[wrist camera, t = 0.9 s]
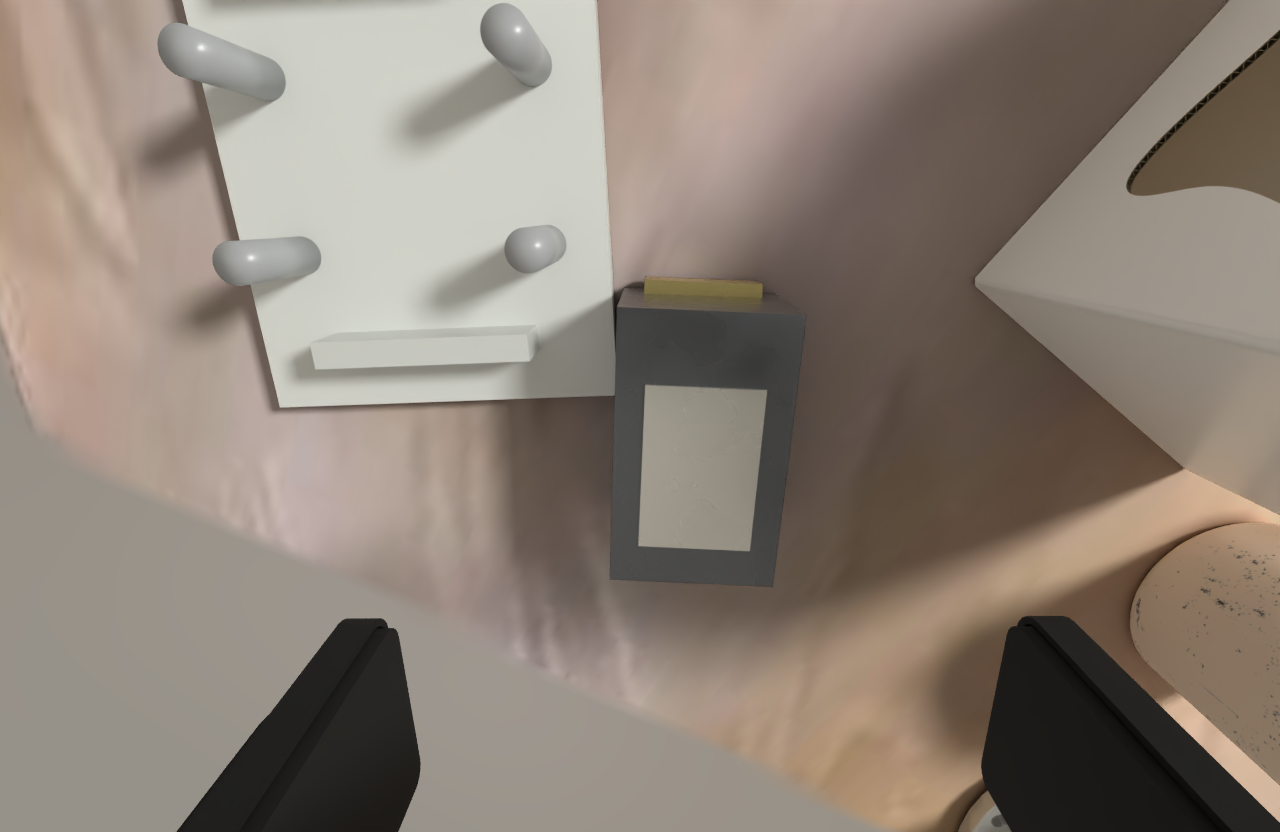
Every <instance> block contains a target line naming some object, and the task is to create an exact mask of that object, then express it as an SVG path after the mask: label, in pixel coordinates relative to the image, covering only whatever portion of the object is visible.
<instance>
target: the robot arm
mask: <svg viewBox="0 0 1280 832" xmlns="http://www.w3.org/2000/svg"><path fill="white" fill-rule="evenodd" d="M981 768H982V775H983V780H984V782H985V785H986V788H987V791H986V792H985V793H984V794H982V796H981V797H980V798H979V799H978V800H977V801H976V803H975V804H974V805H973V806H972V807H971V808H970V809H969V811H968V813H967V815H966V816H965V818H964V820H963V822H962V823H961V825H960V827H959V830H958V832H1280V823H1279V822H1278V821H1277V820H1276V819H1275V818H1274V817H1273V816H1272V815H1271V814H1270V813H1269V812H1268V811H1267V810H1266V809H1265V808H1264V807H1263V806H1262V805H1261V804H1260V803H1259V802H1258V801H1257V800H1256V799H1255V798H1254V797H1253V796H1252V795H1251V794H1250V793H1249V792H1248V791H1247V790H1246V789H1245V788H1244V787H1243V786H1242V785H1241V784H1240V783H1238V782H1237V781H1236V780H1235V779H1234V778H1233V777H1232V776H1231V775H1230V774H1229V773H1228V772H1227V771H1226V770H1225V769H1224V768H1223V767H1222V766H1221V765H1220V764H1219V763H1218V762H1217V761H1216V760H1215V759H1214V758H1213V757H1212V756H1211V755H1210V754H1209V753H1208V752H1207V751H1206V750H1205V749H1204V748H1203V747H1202V746H1201V745H1200V744H1199V743H1198V742H1197V741H1196V740H1195V739H1194V738H1193V737H1192V736H1190V735H1189V734H1188V733H1187V732H1186V731H1185V730H1184V729H1183V728H1182V727H1181V726H1180V725H1179V724H1178V723H1177V722H1176V721H1175V720H1174V719H1173V718H1172V717H1171V716H1170V715H1169V714H1168V713H1167V712H1166V711H1165V710H1164V709H1163V708H1162V707H1161V706H1160V705H1159V704H1158V703H1157V702H1156V701H1155V700H1154V699H1153V698H1152V697H1151V696H1150V695H1149V694H1148V693H1147V692H1146V691H1145V690H1143V689H1142V688H1141V687H1140V686H1139V685H1138V684H1137V683H1136V682H1135V681H1134V680H1133V679H1132V678H1131V677H1130V676H1129V675H1128V674H1127V673H1126V672H1125V671H1124V670H1123V669H1122V668H1121V667H1120V666H1119V665H1118V664H1117V663H1116V662H1115V661H1114V660H1113V659H1112V658H1111V657H1110V656H1109V655H1108V654H1107V653H1106V652H1105V651H1104V650H1103V649H1102V648H1101V647H1100V646H1099V645H1098V644H1096V643H1095V642H1094V641H1093V640H1092V639H1091V638H1090V637H1089V636H1088V635H1087V634H1086V633H1085V632H1084V631H1083V630H1082V629H1081V628H1080V627H1079V626H1078V625H1077V624H1076V623H1075V622H1074V621H1072V620H1071V619H1070V618H1068V617H1064V616H1026V617H1023V618H1021V620H1020V621H1019V622H1018V625H1017V626H1014V627H1011V628H1010V629H1009V630H1008V633H1007V637H1006V642H1005V647H1004V652H1003V657H1002V662H1001V667H1000V672H999V677H998V682H997V687H996V692H995V697H994V702H993V707H992V712H991V717H990V722H989V727H988V732H987V737H986V742H985V747H984V752H983V757H982V764H981ZM419 775H420V756H419V750H418V744H417V738H416V733H415V727H414V721H413V715H412V710H411V704H410V698H409V693H408V687H407V681H406V676H405V670H404V664H403V658H402V652H401V647H400V641H399V636H398V633H397V631H396V629H394V628H388V626H387V623H386V622H385V620H383V619H381V618H379V619H344V620H342V621H341V622H340V623H339V624H338V625H337V627H336V628H335V629H334V631H333V632H332V633H331V635H330V636H329V637H328V639H327V640H326V641H325V642H324V644H323V645H322V646H321V648H320V649H319V650H318V652H317V653H316V654H315V655H314V657H313V658H312V659H311V661H310V662H309V663H308V665H307V666H306V667H305V669H304V670H303V671H302V672H301V674H300V675H299V676H298V678H297V679H296V680H295V682H294V683H293V684H292V685H291V687H290V688H289V689H288V691H287V692H286V693H285V695H284V696H283V697H282V699H281V700H280V701H279V703H278V704H277V705H276V707H275V708H274V709H273V710H272V712H271V713H270V714H269V715H268V716H267V717H266V718H265V719H264V720H263V721H262V722H261V723H260V724H259V725H258V727H257V728H256V729H255V731H254V732H253V733H252V735H251V736H250V737H249V738H248V740H247V741H246V742H245V744H244V745H243V746H242V748H241V749H240V750H239V752H238V753H237V754H236V755H235V757H234V758H233V759H232V761H231V762H230V763H229V764H228V766H227V767H226V768H225V770H224V771H223V772H222V774H221V775H220V776H219V777H218V779H217V780H216V781H215V783H214V784H213V785H212V787H211V788H210V789H209V791H208V792H207V793H206V794H205V795H204V797H203V798H202V799H201V801H200V802H199V803H198V805H197V806H196V807H195V808H194V810H193V811H192V812H191V814H190V815H189V816H188V818H187V819H186V820H185V821H184V823H183V824H182V825H181V827H180V828H179V829H178V830H177V832H398V831H399V828H400V826H401V824H402V821H403V819H404V816H405V814H406V812H407V809H408V807H409V804H410V802H411V800H412V797H413V794H414V792H415V790H416V787H417V784H418V780H419Z"/></svg>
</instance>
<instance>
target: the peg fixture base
mask: <svg viewBox="0 0 1280 832" xmlns="http://www.w3.org/2000/svg"><path fill="white" fill-rule="evenodd" d="M182 2H183V6H184V10H185V14H186V18H187V23H188V25H186V24H183V23H171V24H168V25H167V26H165V27H164V28H163V29H162V31H161V32H160V34H159V37H158V51H159V55H160V57H161V59H162V61H163V63H164V64H165V66H166V67H167V68H168V69H169V70H170V71H171V72H173V73H174V74H176V75H178V76H181V77H184V78H187V79H191V80H194V81H198V82H201V83H202V85H203V89H204V93H205V98H206V102H207V106H208V110H209V114H210V118H211V123H212V127H213V131H214V135H215V139H216V143H217V148H218V152H219V156H220V160H221V164H222V168H223V173H224V177H225V181H226V185H227V189H228V193H229V197H230V202H231V206H232V210H233V214H234V218H235V222H236V227H237V231H238V235H239V239H240V240H238V241H226V242H223V243H221V244H219V245H218V246H217V247H216V248H215V250H214V253H213V266H214V268H215V271H216V272H217V274H218V275H219V276H220V278H221V279H223V280H224V281H225V282H227V283H229V284H231V285H234V286H244V285H251V289H252V293H253V297H254V302H255V306H256V310H257V314H258V318H259V322H260V327H261V331H262V335H263V339H264V343H265V347H266V352H267V356H268V360H269V364H270V368H271V372H272V377H273V381H274V385H275V389H276V393H277V397H278V402H279V406H280V408H281V407H308V406H336V405H364V404H392V403H419V402H447V401H475V400H503V399H530V398H558V397H586V396H614V395H615V364H616V324H615V307H614V289H613V272H612V254H611V237H610V219H609V202H608V185H607V167H606V150H605V132H604V115H603V97H602V80H601V63H600V45H599V28H598V10H597V0H182Z"/></svg>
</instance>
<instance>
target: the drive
mask: <svg viewBox="0 0 1280 832" xmlns="http://www.w3.org/2000/svg"><path fill="white" fill-rule="evenodd" d="M762 291H763V284H762V283H760V282H759V281H743V280H719V279H695V278H671V277H647V276H645V283H644V288H631V287H625V288H624V290H623V293H622V296H621V298H620V301H619V303H618V306H617V327H616V364H615V402H614V439H613V477H612V515H611V552H610V579H613V580H634V581H656V582H678V583H700V584H721V585H743V586H765V587H773V581H774V572H775V564H776V556H777V548H778V540H779V532H780V524H781V516H782V508H783V500H784V492H785V484H786V476H787V468H788V460H789V452H790V444H791V436H792V428H793V420H794V412H795V404H796V396H797V388H798V380H799V372H800V364H801V356H802V348H803V340H804V332H805V324H806V316H807V315H806V314H804V313H803V312H802V311H800V310H799V309H797V308H796V307H794V306H793V305H791V304H790V303H788V302H787V301H785V300H784V299H782V298H781V297H779V296H778V295H776V294H773V293H762Z"/></svg>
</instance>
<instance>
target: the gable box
mask: <svg viewBox="0 0 1280 832" xmlns="http://www.w3.org/2000/svg"><path fill="white" fill-rule="evenodd" d="M975 286H976V287H977V288H978V289H979V290H980V291H981V292H983V293H984V294H985V295H986V296H987V297H988V298H989V299H991V300H992V301H993V302H994V303H995V304H996V305H997V306H999V307H1000V308H1001V309H1002V310H1003V311H1004V312H1005V313H1007V314H1008V315H1009V316H1010V317H1011V318H1012V319H1014V320H1015V321H1016V322H1017V323H1018V324H1019V325H1020V326H1022V327H1023V328H1024V329H1025V330H1026V331H1027V332H1028V333H1030V334H1031V335H1032V336H1033V337H1034V338H1035V339H1037V340H1038V341H1039V342H1040V343H1041V344H1042V345H1043V346H1045V347H1046V348H1047V349H1048V350H1049V351H1050V352H1051V353H1053V354H1054V355H1055V356H1056V357H1057V358H1058V359H1059V360H1061V361H1062V362H1063V363H1064V364H1065V365H1066V366H1068V367H1069V368H1070V369H1071V370H1072V371H1073V372H1074V373H1076V374H1077V375H1078V376H1079V377H1080V378H1081V379H1082V380H1084V381H1085V382H1086V383H1087V384H1088V385H1089V386H1090V387H1092V388H1093V389H1094V390H1095V391H1096V392H1097V393H1099V394H1100V395H1101V396H1102V397H1103V398H1104V399H1105V400H1107V401H1108V402H1109V403H1110V404H1111V405H1112V406H1113V407H1115V408H1116V409H1117V410H1118V411H1119V412H1120V413H1122V414H1123V415H1124V416H1125V417H1126V418H1127V419H1128V420H1130V421H1131V422H1132V423H1133V424H1134V425H1135V426H1136V427H1138V428H1139V429H1140V430H1141V431H1142V432H1143V433H1144V434H1146V435H1147V436H1148V437H1149V438H1150V439H1151V440H1153V441H1154V442H1155V443H1156V444H1157V445H1158V446H1159V447H1161V448H1162V449H1163V450H1164V451H1165V452H1166V453H1167V454H1169V455H1170V456H1171V457H1172V458H1173V459H1174V460H1175V461H1177V462H1178V463H1179V464H1180V465H1181V466H1182V467H1184V468H1185V469H1187V470H1189V471H1190V472H1192V473H1194V474H1196V475H1198V476H1200V477H1202V478H1205V479H1207V480H1209V481H1211V482H1213V483H1215V484H1217V485H1219V486H1221V487H1223V488H1225V489H1227V490H1229V491H1231V492H1233V493H1235V494H1238V495H1240V496H1242V497H1244V498H1246V499H1248V500H1250V501H1252V502H1254V503H1256V504H1258V505H1260V506H1262V507H1264V508H1266V509H1268V510H1271V511H1273V512H1275V513H1277V514H1279V515H1280V0H1230V1H1229V2H1228V3H1227V4H1226V5H1225V6H1224V7H1223V8H1222V9H1221V10H1220V11H1219V12H1218V14H1217V15H1216V16H1215V17H1214V18H1213V19H1212V20H1211V21H1210V22H1209V23H1208V24H1207V26H1206V27H1205V28H1204V29H1203V30H1202V31H1201V32H1200V33H1199V34H1198V35H1197V36H1196V38H1195V39H1194V40H1193V41H1192V42H1191V43H1190V44H1189V45H1188V46H1187V47H1186V48H1185V50H1184V51H1183V52H1182V53H1181V54H1180V55H1179V56H1178V57H1177V58H1176V59H1175V60H1174V62H1173V63H1172V64H1171V65H1170V66H1169V67H1168V68H1167V69H1166V70H1165V71H1164V72H1163V73H1162V75H1161V76H1160V77H1159V78H1158V79H1157V80H1156V81H1155V82H1154V83H1153V84H1152V85H1151V87H1150V88H1149V89H1148V90H1147V91H1146V92H1145V93H1144V94H1143V95H1142V96H1141V97H1140V99H1139V100H1138V101H1137V102H1136V103H1135V104H1134V105H1133V106H1132V107H1131V108H1130V109H1129V111H1128V112H1127V113H1126V114H1125V115H1124V116H1123V117H1122V118H1121V119H1120V120H1119V121H1118V123H1117V124H1116V125H1115V126H1114V127H1113V128H1112V129H1111V130H1110V131H1109V132H1108V133H1107V134H1106V136H1105V137H1104V138H1103V139H1102V140H1101V141H1100V142H1099V143H1098V144H1097V145H1096V146H1095V148H1094V149H1093V150H1092V151H1091V152H1090V153H1089V154H1088V155H1087V156H1086V157H1085V158H1084V160H1083V161H1082V162H1081V163H1080V164H1079V165H1078V166H1077V167H1076V168H1075V169H1074V170H1073V172H1072V173H1071V174H1070V175H1069V176H1068V177H1067V178H1066V179H1065V180H1064V181H1063V182H1062V183H1061V185H1060V186H1059V187H1058V188H1057V189H1056V190H1055V191H1054V192H1053V193H1052V194H1051V195H1050V197H1049V198H1048V199H1047V200H1046V201H1045V202H1044V203H1043V204H1042V205H1041V206H1040V207H1039V209H1038V210H1037V211H1036V212H1035V213H1034V214H1033V215H1032V216H1031V217H1030V218H1029V219H1028V221H1027V222H1026V223H1025V224H1024V225H1023V226H1022V227H1021V228H1020V229H1019V230H1018V231H1017V233H1016V234H1015V235H1014V236H1013V237H1012V238H1011V239H1010V240H1009V241H1008V242H1007V243H1006V244H1005V246H1004V247H1003V248H1002V249H1001V250H1000V251H999V252H998V253H997V254H996V255H995V256H994V258H993V259H992V260H991V261H990V262H989V263H988V264H987V265H986V266H985V267H984V268H983V270H982V271H981V272H980V273H979V274H978V275H977V276H976V277H975ZM986 288H987V289H986Z"/></svg>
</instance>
